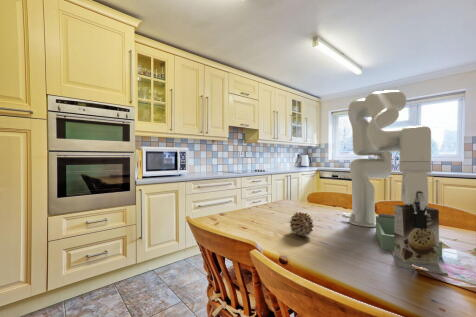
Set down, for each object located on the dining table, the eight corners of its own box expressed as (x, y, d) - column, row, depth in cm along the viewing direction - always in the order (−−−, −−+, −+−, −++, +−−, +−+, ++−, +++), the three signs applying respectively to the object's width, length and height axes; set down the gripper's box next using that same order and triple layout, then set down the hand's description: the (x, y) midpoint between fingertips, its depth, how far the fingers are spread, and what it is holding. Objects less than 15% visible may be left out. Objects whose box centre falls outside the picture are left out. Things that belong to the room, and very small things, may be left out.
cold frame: (381, 249, 77) (381, 225, 77) (375, 232, 95) (375, 213, 95) (442, 258, 70) (441, 231, 70) (423, 238, 88) (423, 217, 88)
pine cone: (318, 242, 83) (318, 216, 83) (292, 242, 84) (292, 215, 84) (305, 225, 105) (305, 204, 105) (284, 225, 106) (284, 204, 106)
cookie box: (404, 263, 65) (404, 208, 65) (393, 254, 71) (393, 204, 72) (440, 266, 63) (439, 209, 63) (426, 256, 70) (425, 205, 70)
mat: (397, 266, 64) (397, 264, 64) (391, 251, 75) (391, 249, 75) (448, 275, 59) (448, 273, 59) (433, 257, 70) (433, 256, 70)
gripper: (394, 166, 77) (394, 215, 77) (406, 168, 61) (406, 230, 61) (422, 166, 73) (422, 218, 74) (441, 169, 58) (441, 234, 58)
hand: (415, 223), depth 67 cm, fingers open, 9 cm apart
